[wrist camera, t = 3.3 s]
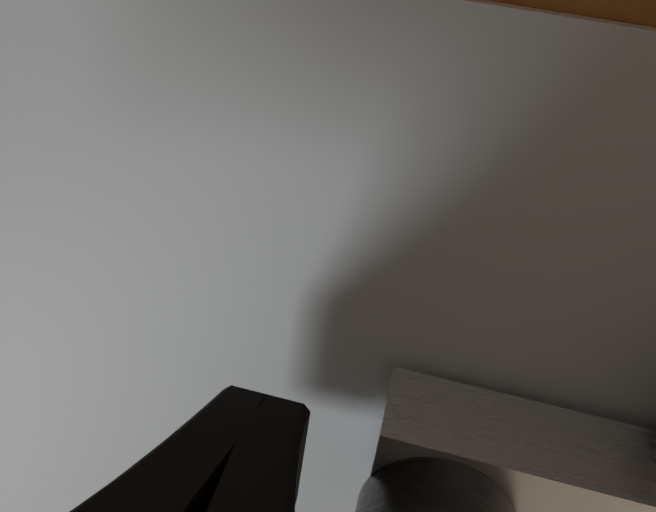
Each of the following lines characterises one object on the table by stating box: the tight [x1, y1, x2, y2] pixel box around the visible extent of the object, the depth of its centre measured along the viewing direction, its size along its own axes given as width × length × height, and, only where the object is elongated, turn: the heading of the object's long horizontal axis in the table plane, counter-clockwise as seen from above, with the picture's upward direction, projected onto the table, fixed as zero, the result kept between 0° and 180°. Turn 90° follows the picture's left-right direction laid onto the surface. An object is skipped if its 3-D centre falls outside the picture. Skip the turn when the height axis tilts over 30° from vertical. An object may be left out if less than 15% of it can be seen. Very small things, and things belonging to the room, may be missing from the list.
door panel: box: [0, 0, 656, 512], centre depth 10 cm, size 13×14×3 cm
